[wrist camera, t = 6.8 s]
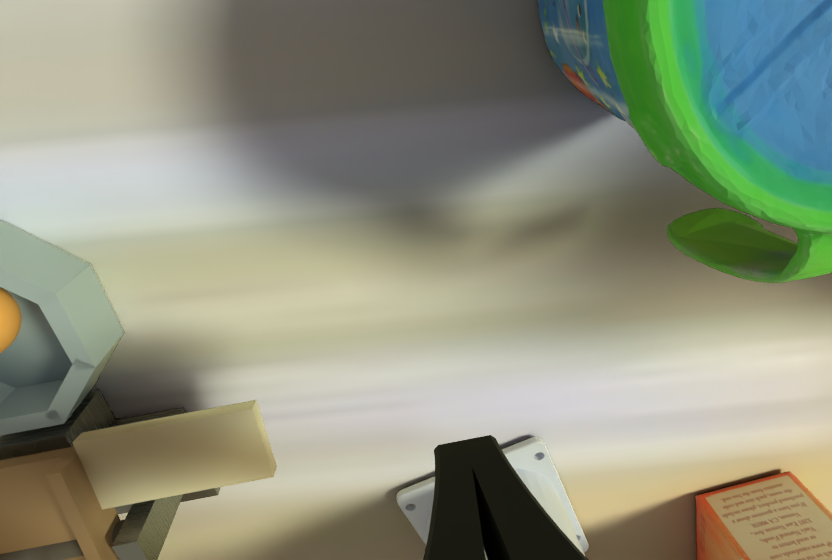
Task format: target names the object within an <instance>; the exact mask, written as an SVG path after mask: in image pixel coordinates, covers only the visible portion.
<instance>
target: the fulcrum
mask: <svg viewBox="0 0 832 560" xmlns="http://www.w3.org/2000/svg"><path fill="white" fill-rule="evenodd" d="M184 413H186V412H185V409H184V407H183V408H178V409H173V410H167V411H162V412H157V413H151V414H146V415H141V416H135V417H130V418H125V419H119V420H114V419H115V417H114V416H113V414H112V412H111V410H110V408H109V407H108V405H107V403H106V401H105V399H104V398H103V396H102V394H101V392H100V390H95V391H90V392H89V393H88V394H87V395H86V396H85V398H84V399H83V400H82V402H81V403H80V404H79V405H78V407H77V408H76V409H75V410H74V412H73V413H72V414H71V416H70V417H69V418H68V419H67V421H66V422H65V423H64V424H60V425H55V426H49V427H44V428H39V429H33V430H28V431H23V432H17V433H12V434H7V435H1V436H0V460H5V459H10V458H15V457H21V456H26V455H31V454H36V453H42V452H47V451H52V450H58V449H63V448H68V447H74V445H73V443H72V442H73V441H74V440H75V439H76V438H77V437H78V436H79V435H80V434H81V433H83V432H88V431H93V430H99V429H104V428H109V427H115V426H120V425H125V424H131V423H136V422H141V421H147V420H152V419H157V418H163V417H168V416H173V415H179V414H184ZM219 490H220V487H218V488H212V489H207V490H202V491H197V492H191V493H186V494H181V495H176V496H171V497H165V498H160V499H155V500H150V501H144V502H139V503H134V504H129V505H123V506H118V507H115V509H116V512H117V514H121V513H127V512H128V514H127V516H126V518H125V521H124V523H123V525H122V527H121V529H120V531H119V533H118V535H117V537H116V539H115V541H114V543H113V545H112V548H113V550H114V551H115V553H116V554H117V556H118V557H119V559H120V560H157V559H158V557H159V554H160V551H161V549H162V546H163V544H164V541H165V539H166V536H167V534H168V531H169V529H170V526H171V524H172V521H173V519H174V516H175V514H176V511H177V509H178V506H179V503H180V502H184V501H189V500H194V499H200V498H205V497H210V496H215V495H218V493H219Z"/></svg>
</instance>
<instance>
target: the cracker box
mask: <svg viewBox="0 0 832 560" xmlns="http://www.w3.org/2000/svg"><path fill="white" fill-rule="evenodd" d="M695 498H696V534H697V560H832V513H831V512H830V511H829V510H828V509H827V508H826V507H825V506H824V505H823V504H822V503H821V502H820V501H819V500H818V499H817V498H816V497H815V496H814V495H813V494H812V493H811V492H810V491H809V490H808V489H807V488H806V487H805V486H804V485H803V484H802V483H801V482H800V481H799V480H798V479H797V477H796V476H794V475H793V474H792V473H791V472H784V473H781V474H777V475H773V476H769V477H765V478H761V479H758V480H754V481H750V482H746V483H743V484H739V485H735V486H731V487H727V488H723V489H720V490H716V491H712V492H708V493H704V494H701V495H697V496H696V497H695Z"/></svg>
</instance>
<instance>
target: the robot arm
mask: <svg viewBox="0 0 832 560" xmlns="http://www.w3.org/2000/svg"><path fill="white" fill-rule="evenodd" d="M539 452H541V453H539ZM537 453H539V454H537ZM434 454H435V476H434V477H432V478H429V479H427V480H424V481H422V482H419V483H417V484H414V485H412V486H409V487H407V488H404V489H402V490H400V491H399V492H398V493H397V496H396V499H397V504H398V505H399V507H400V508H401V510H402V511H403V513H404V514H405V516H406V517H407V518H408V520H409V521H410V523H411V524H412V526H413V527H414V529H415V530H416V532H417V533H418V535H419V536H420V537H421V539H422V540H423V542H424V543H425V545H426V549H425V554H424V559H423V560H588V559H587V558H586V557H585V554H584V552H586V551H587V550H588V548H589V544H588V542H587V540H586V537H585V535H584V533H583V530H582V528H581V526H580V523H579V521H578V519H577V517H576V514H575V512H574V510H573V507H572V505H571V503H570V501H569V498H568V496H567V494H566V491H565V489H564V487H563V484H562V482H561V480H560V478H559V475H558V473H557V471H556V468H555V466H554V464H553V461H552V459H551V457H550V455H549V452H548V450H547V448H546V445H545V443H544V441H543V440H542V439H541V438H539V437H532V438H529V439H527V440H524V441H522V442H519V443H517V444H514V445H512V446H509V447H507V448H504V449H501V448H500V446H499V444H498V442H497V441H496V439H495V438H494V437H492V436H491V435H489V436H484V437H478V438H473V439H468V440H463V441H458V442H452V443H447V444H442V445H438V446H437V447H436V448H435V449H434ZM409 504H410V505H409Z"/></svg>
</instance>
